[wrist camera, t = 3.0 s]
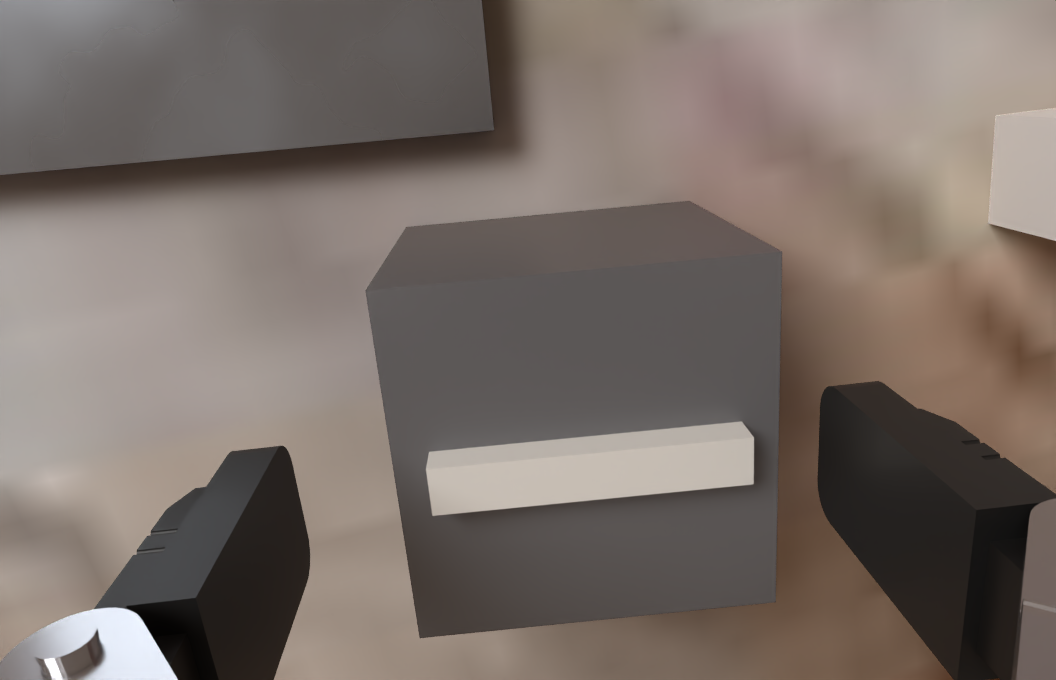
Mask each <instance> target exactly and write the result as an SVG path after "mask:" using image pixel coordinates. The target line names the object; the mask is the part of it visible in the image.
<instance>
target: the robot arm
mask: <svg viewBox="0 0 1056 680" xmlns="http://www.w3.org/2000/svg"><path fill="white" fill-rule="evenodd" d="M818 491H819V497H820V501H821V505H822V508H823V511H824V513H825V515H826V517H827V519H828V521H829V522H830V524H831V525H832V526H833V528H834V529H835V530H836V531H837V533H838V534H839V535H840V536H841V538H842V539H843V540H844V541H845V543H846V544H847V545H848V547H849V548H850V549H851V550H852V552H853V553H854V554H855V555H856V557H857V558H858V559H859V560H860V562H861V563H862V564H863V565H864V567H865V568H866V569H867V571H868V572H869V573H870V574H871V576H872V577H873V578H874V579H875V581H876V582H877V583H878V584H879V586H880V587H881V588H882V589H883V591H884V592H885V593H886V594H887V596H888V597H889V598H890V600H891V601H892V602H893V603H894V605H895V606H896V607H897V608H898V610H899V611H900V612H901V613H902V615H903V616H904V617H905V618H906V620H907V621H908V622H909V624H910V625H911V626H912V627H913V629H914V630H915V631H916V632H917V634H918V635H919V636H920V637H921V639H922V640H923V641H924V642H925V644H926V645H927V646H928V648H929V649H930V650H931V651H932V653H933V654H934V655H935V656H936V658H937V659H938V660H939V661H940V663H941V664H942V665H943V666H944V668H945V669H946V670H947V672H948V673H949V674H950V675H951V677H952V678H953V679H954V680H987V679H995V678H999V679H1000V680H1056V494H1055V493H1053V492H1052V491H1051V490H1049V489H1048V488H1046V487H1045V486H1044V485H1042V484H1041V483H1039V482H1038V481H1037V480H1035V479H1034V478H1032V477H1031V476H1030V475H1028V474H1027V473H1025V472H1024V471H1023V470H1021V469H1020V468H1018V467H1017V466H1016V465H1014V464H1013V463H1012V462H1010V461H1009V460H1007V459H1006V458H1000V454H999V453H998V452H996V451H995V450H993V449H992V448H991V447H989V446H988V445H986V444H985V443H980V441H979V439H978V438H977V437H975V436H974V435H973V434H971V433H970V432H968V431H967V430H966V429H964V428H963V427H961V426H960V425H959V424H957V423H956V422H954V421H951V420H949V419H946V418H943V417H941V416H938V415H936V414H933V413H931V412H928V411H925V410H923V409H917V408H916V407H914V406H913V405H912V404H910V403H909V402H908V401H906V400H905V399H904V398H902V397H901V396H900V395H898V394H897V393H896V392H894V391H893V390H892V389H890V388H889V387H888V386H886V385H885V384H884V383H882V382H879V381H875V382H865V383H856V384H847V385H838V386H829V387H827V388H826V389H825V390H824V392H823V394H822V397H821V403H820V427H819V456H818ZM309 569H310V547H309V539H308V534H307V529H306V525H305V520H304V516H303V511H302V506H301V502H300V497H299V493H298V488H297V483H296V479H295V474H294V470H293V465H292V461H291V458H290V455H289V453H288V451H287V449H286V448H285V447H284V446H276V447H267V448H258V449H249V450H240V451H232V452H230V453H229V454H228V455H227V457H226V458H225V460H224V461H223V463H222V464H221V466H220V467H219V469H218V470H217V472H216V473H215V475H214V476H213V478H212V479H211V481H210V482H209V484H208V485H207V487H202V488H195V489H194V490H192V491H191V492H190V493H188V494H187V495H186V496H184V497H183V498H181V499H180V500H179V501H177V502H176V503H175V504H173V505H172V506H170V507H169V508H168V509H167V510H166V511H165V512H164V514H163V515H162V516H161V518H160V519H159V521H158V522H157V523H156V525H155V526H154V527H153V529H152V530H151V536H147V537H146V538H145V540H144V541H143V542H142V544H141V545H140V547H139V548H138V549H137V555H133V556H132V558H131V559H130V560H129V562H128V563H127V564H126V566H125V567H124V569H123V570H122V571H121V573H120V574H119V575H118V577H117V578H116V579H115V581H114V582H113V584H112V585H111V586H110V588H109V589H108V590H107V592H106V593H105V595H104V596H103V597H102V599H101V600H100V601H99V603H98V604H97V605H96V607H95V608H94V609H93V610H89V611H85V612H81V613H78V614H75V615H71V616H68V617H66V618H63V619H61V620H59V621H56V622H54V623H52V624H50V625H48V626H46V627H44V628H42V629H41V630H39V631H37V632H35V633H34V634H32V635H31V636H29V637H28V638H26V639H25V640H23V641H22V642H21V643H19V644H18V645H17V646H16V647H15V648H13V649H12V650H11V651H10V652H9V653H8V654H7V655H6V656H5V657H4V658H3V660H2V661H1V662H0V680H274V677H275V674H276V671H277V668H278V665H279V662H280V659H281V656H282V653H283V651H284V648H285V645H286V642H287V639H288V636H289V633H290V630H291V627H292V624H293V621H294V619H295V616H296V613H297V610H298V607H299V604H300V601H301V598H302V595H303V592H304V590H305V587H306V584H307V580H308V576H309Z"/></svg>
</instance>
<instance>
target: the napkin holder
mask: <svg viewBox="0 0 1056 680" xmlns="http://www.w3.org/2000/svg"><path fill="white" fill-rule="evenodd" d="M988 223H989V224H993V225H997V226H1000V227H1004V228H1008V229H1012V230H1016V231H1020V232H1023V233H1027V234H1031V235H1035V236H1039V237H1043V238H1047V239H1050V240H1054V241H1056V108H1050V109H1042V110H1034V111H1026V112H1018V113H1010V114H1003V115H996V117H995V131H994V146H993V160H992V175H991V189H990V204H989V218H988Z"/></svg>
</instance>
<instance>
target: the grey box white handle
mask: <svg viewBox="0 0 1056 680" xmlns="http://www.w3.org/2000/svg"><path fill="white" fill-rule="evenodd" d="M781 283H782V251H780V250H778V249H776V248H775V247H773V246H771V245H769V244H767V243H765V242H764V241H762V240H760V239H758V238H756V237H754V236H753V235H751V234H749V233H747V232H745V231H743V230H742V229H740V228H738V227H736V226H734V225H732V224H731V223H729V222H727V221H725V220H723V219H721V218H720V217H718V216H716V215H714V214H712V213H711V212H709V211H707V210H705V209H703V208H701V207H700V206H698V205H696V204H694V203H692V202H690V201H685V202H674V203H663V204H653V205H642V206H631V207H620V208H609V209H598V210H588V211H577V212H566V213H555V214H544V215H533V216H523V217H512V218H501V219H490V220H479V221H468V222H458V223H447V224H436V225H425V226H414V227H406V228H405V230H404V232H403V233H402V235H401V236H400V238H399V239H398V241H397V242H396V244H395V246H394V247H393V249H392V250H391V252H390V253H389V255H388V256H387V258H386V259H385V261H384V263H383V264H382V266H381V267H380V269H379V270H378V272H377V273H376V275H375V277H374V278H373V280H372V281H371V283H370V284H369V286H368V287H367V289H366V297H367V303H368V310H369V316H370V323H371V329H372V335H373V342H374V348H375V355H376V361H377V367H378V374H379V380H380V387H381V393H382V400H383V406H384V412H385V419H386V425H387V432H388V438H389V444H390V451H391V457H392V464H393V470H394V476H395V483H396V489H397V496H398V502H399V508H400V515H401V521H402V528H403V534H404V541H405V547H406V553H407V560H408V566H409V573H410V579H411V585H412V592H413V598H414V605H415V611H416V617H417V624H418V630H419V637H420V638H426V637H435V636H445V635H455V634H465V633H475V632H485V631H495V630H505V629H515V628H525V627H535V626H544V625H554V624H564V623H574V622H584V621H594V620H604V619H614V618H624V617H634V616H644V615H654V614H663V613H673V612H683V611H693V610H703V609H713V608H723V607H733V606H743V605H753V604H763V603H772V602H776V553H777V499H778V445H779V391H780V337H781Z"/></svg>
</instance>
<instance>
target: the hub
mask: <svg viewBox="0 0 1056 680" xmlns="http://www.w3.org/2000/svg"><path fill="white" fill-rule="evenodd" d="M492 130H494V123H493V113H492V102H491V92H490V81H489V71H488V60H487V50H486V39H485V29H484V18H483V8H482V0H0V175H6V174H17V173H28V172H39V171H50V170H61V169H72V168H83V167H94V166H105V165H116V164H127V163H138V162H149V161H160V160H171V159H183V158H194V157H205V156H216V155H227V154H238V153H249V152H260V151H271V150H282V149H293V148H304V147H315V146H326V145H337V144H348V143H359V142H370V141H382V140H393V139H404V138H415V137H426V136H437V135H448V134H459V133H470V132H481V131H492Z"/></svg>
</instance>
